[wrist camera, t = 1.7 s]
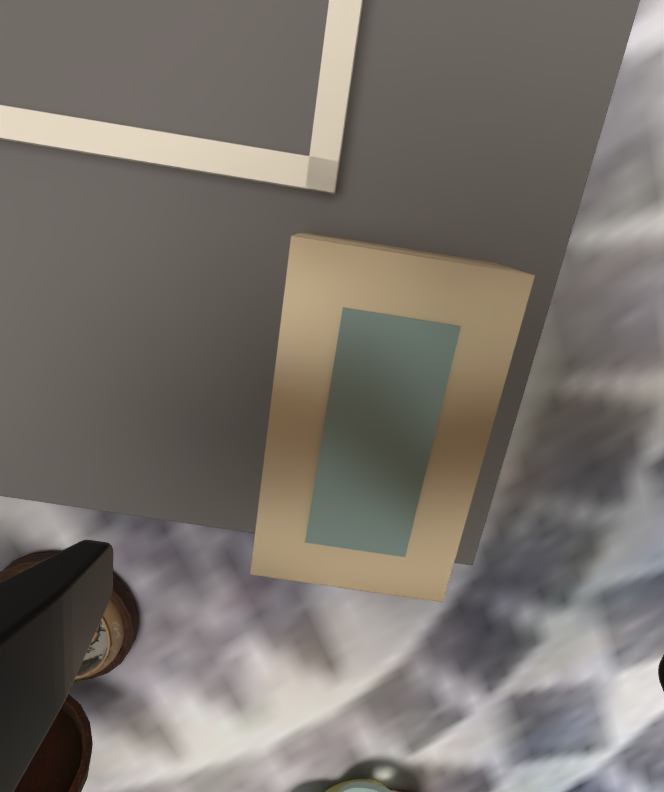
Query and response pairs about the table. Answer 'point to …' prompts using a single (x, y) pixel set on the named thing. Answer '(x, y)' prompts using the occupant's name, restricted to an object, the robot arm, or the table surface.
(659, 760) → the table surface
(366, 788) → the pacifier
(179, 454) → the mat
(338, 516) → the slab
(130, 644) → the compass
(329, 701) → the table surface
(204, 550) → the table surface
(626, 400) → the table surface
